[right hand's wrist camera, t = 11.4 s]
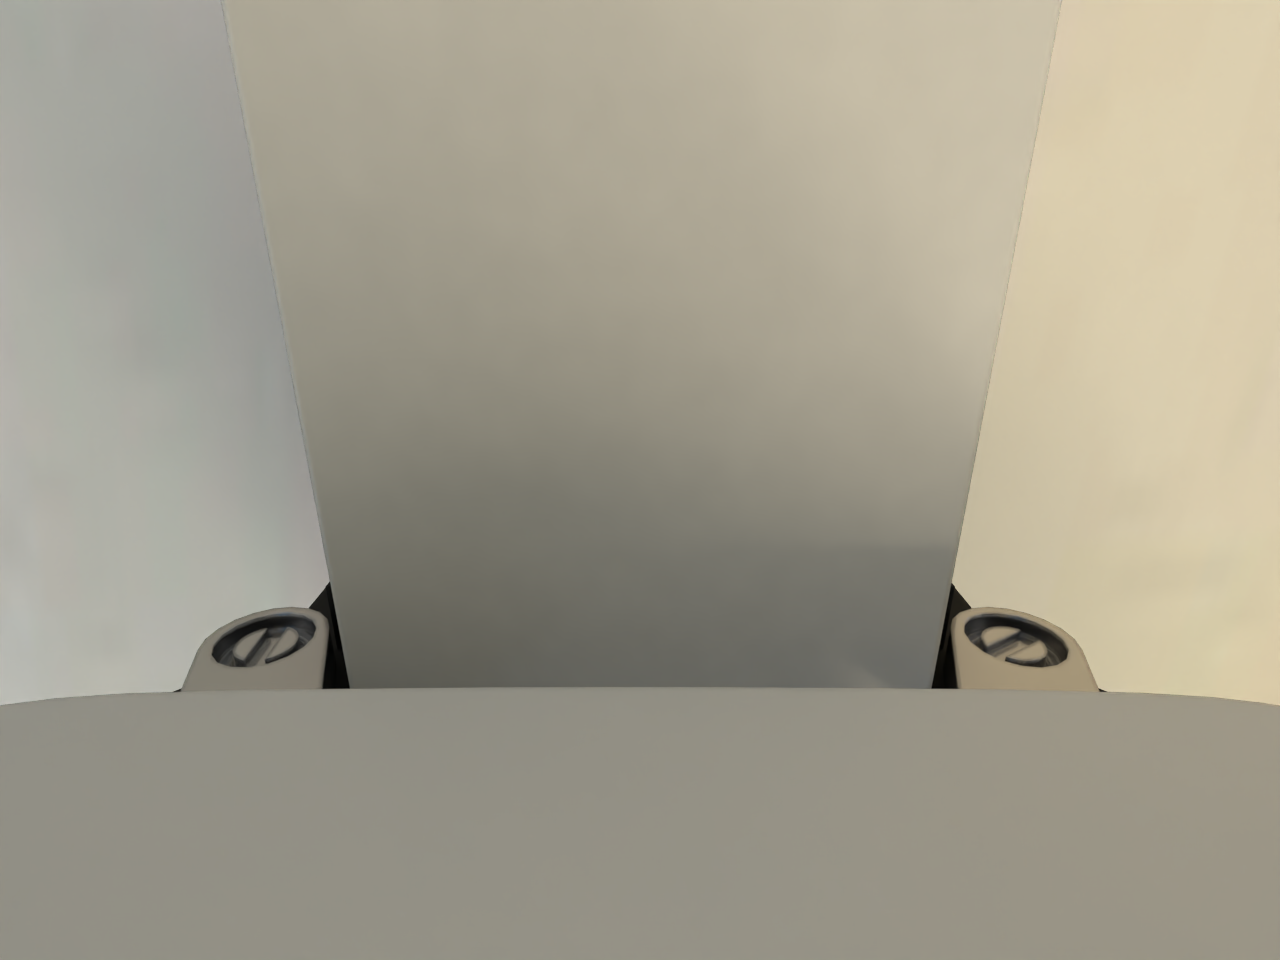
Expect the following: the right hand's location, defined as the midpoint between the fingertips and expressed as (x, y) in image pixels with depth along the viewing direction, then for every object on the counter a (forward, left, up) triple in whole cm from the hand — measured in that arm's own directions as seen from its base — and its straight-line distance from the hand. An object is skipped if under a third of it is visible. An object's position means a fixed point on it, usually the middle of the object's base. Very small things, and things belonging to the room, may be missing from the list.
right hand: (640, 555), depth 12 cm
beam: (+7, -23, -2) cm, 24 cm away
